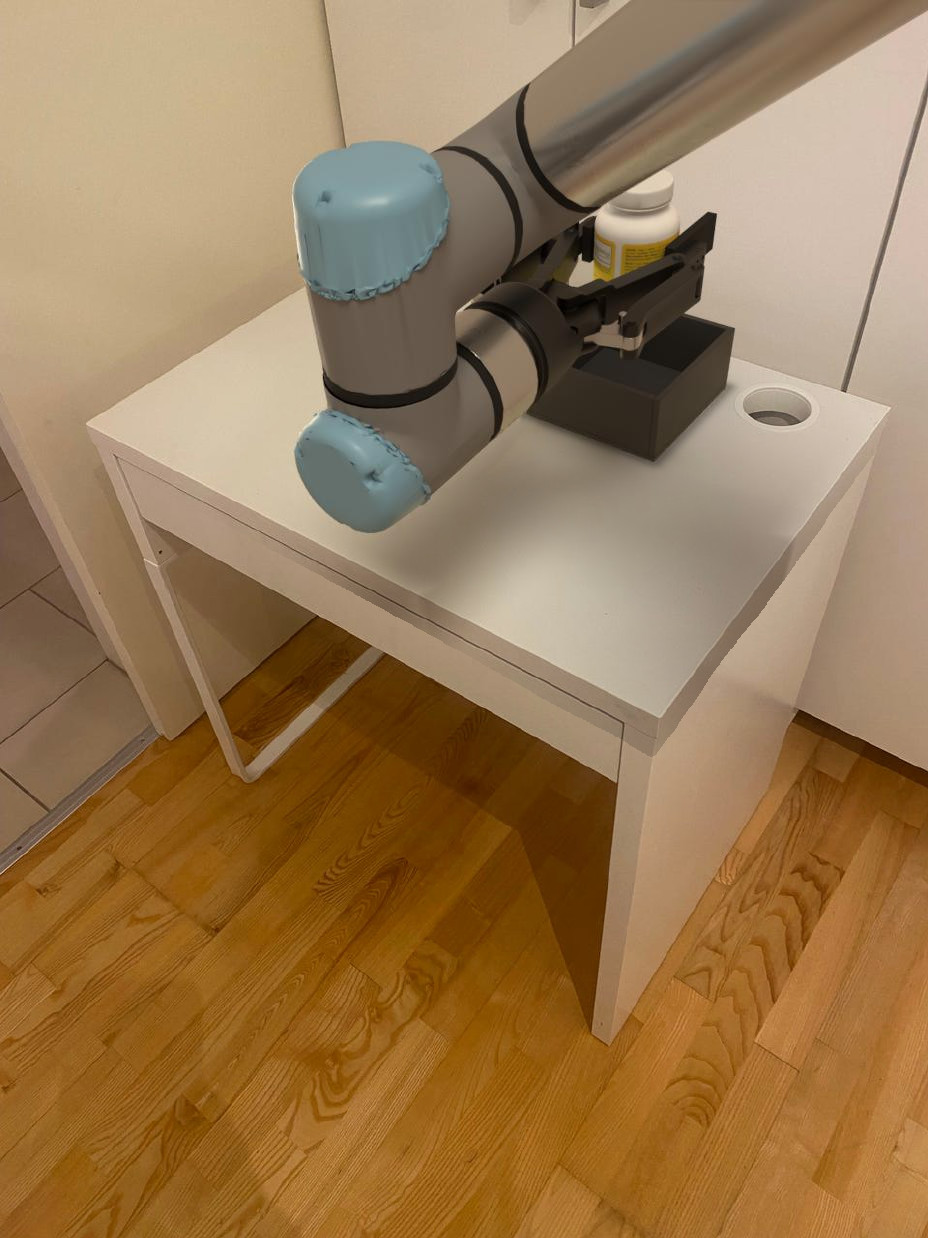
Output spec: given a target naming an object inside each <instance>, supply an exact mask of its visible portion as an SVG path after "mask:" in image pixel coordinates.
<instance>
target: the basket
mask: <svg viewBox="0 0 928 1238" xmlns="http://www.w3.org/2000/svg"><path fill="white" fill-rule="evenodd" d="M735 332H736V328H735V327H733V326H729V325H726V324H723V323H719V322H716V321H713V320H709V319H705V318H702V317H699V316H695V315H692V314H688V313H686V312H685V313H684V314H683V315H681V316H680V317H679V318H677V319H676V320H675V321H673V322H672V323H671V324H670V325H668V326H667V327H666V328H664V329H663V330H662V331H660V332H659V333H658V334H657V335H655V336H654V337H653V338H651V339H650V340H649V341H648V342H646V343H645V344H644V346H643V348H642V350H641V352H640V354H639V356H638V358H637V359H635V360H631V361H627V360H623V359H622V358H621V357H620V350H621V348H617V347H610V346H603V345H599V347H598V348H597V349H596V350H594V351H593V352H590V353H587V354H584V355H581V356H579V357H578V358H577V359H576V360H575V362H574V363H573V365H572V367H571V368H570V370H569V371H568V373H567V374H566V376H565V377H564V378H563V379H562V380H561V381H560V382H559V383H558V384H557V385H556V386H555V387H554V388H552V389H551V390H550V391H549V392H548V393H547V394H546V395H544V396H543V397H542V398H541V399H540V400H539V401H538V402H536V403H535V404H533V405H532V406H530V407H529V408H528V410H527V411H526V412H525V414H526V415H529V416H531V417H534V418H536V419H539V420H542V421H545V422H548V423H550V424H552V425H555V426H557V427H561V428H563V429H566V430H569V431H571V432H575V433H576V434H578V435H579V434H580V435H581V436H585V437H587V438H589V439H593V440H595V441H598V442H600V443H603V444H606V445H609V446H612V447H614V448H617V449H619V450H622V451H624V452H627V453H630V454H632V455H635V456H638V457H640V458H643V459H646V460H648V461H651V462H655V461H656V460H658V458H659V457H660V456H661V455H662V454H663V453H664V452H665V451H666V450H667V449H668V448H669V446H671V445H672V444H673V442H675V441H676V440H677V438H678V437H679V436H681V434H683V432H684V431H685V430H686V429H687V428H688V427H689V426H690V425H691V424H692V423H693V422H694V421H695V420H696V419H697V418H698V417H699V416H700V415H701V414H702V413H703V412H704V410H705V409H706V408H708V406H709V405H710V404H712V403H713V401H714V400H715V399H716V398H717V397H718V396H719V395H720V394H721V393H722V392H723V391H724V390H725V389H726V388H727V382H728V377H729V370H730V364H731V363H730V362H731V359H732V358H731V357H732V351H733V345H734V337H735Z"/></svg>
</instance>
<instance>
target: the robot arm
mask: <svg viewBox="0 0 928 1238" xmlns="http://www.w3.org/2000/svg"><path fill="white" fill-rule="evenodd" d="M927 12H928V0H628V1H627V2H626V3H625V4H623V6H621V7H620V8H619V9H618V10H616V11H615V12H614V13H613V14H611V15H610V16H609V17H608V18H606V19H605V20H604V21H603V22H602V23H601V24H599V25H598V26H596V28H594V29H593V30H592V31H590V32H589V33H588V34H587V35H586V36H584V38H582V39H581V40H579V41H578V42H577V43H576V44H575V45H573V46H572V47H571V48H569V49H568V50H567V51H566V52H565V53H563V54H562V55H561V56H560V57H559V58H557V59H556V60H555V61H553V63H551V64H550V65H549V66H547V68H545V69H544V70H543V71H541V72H540V73H539V74H538V75H536V76H535V77H534V78H533V79H532V80H531V81H529V82H527V84H525V85H523V86H522V87H521V88H519V89H518V90H517V91H515V93H513V94H512V95H510V96H509V97H508V98H507V99H506V100H505V101H503V102H502V103H501V104H500V105H499V106H497V107H496V108H494V109H493V110H492V111H491V112H490V113H488V114H487V115H486V116H485V117H484V118H482V119H480V120H479V121H478V122H476V123H475V124H474V125H472V126H471V127H470V128H468V129H466V130H465V131H463V132H461V134H459V135H458V136H456V137H455V138H453V139H452V140H450V141H448V142H447V143H446V144H444V145H443V146H441V147H439V148H437V149H435V150H433V151H431V152H430V153H429V152H428V151H426V150H425V149H424V148H422V147H421V148H420V147H419V146H416V145H414V144H409V143H405V142H401V141H393V140H370V141H369V140H368V141H360V142H354V143H351V144H350V145H349V146H348V147H344V148H338V149H337V148H335V149H333V148H332V149H330V150H327V151H324V152H322V153H321V154H320V153H319V154H318V155H317V156H315V157H313V158H312V159H311V160H309V161H308V162H307V163H306V164H304V165H303V166H302V168H301V169H300V171H299V172H298V174H297V175H296V177H295V180H294V182H293V185H292V190H291V200H292V209H293V218H294V224H293V226H294V233H295V240H296V247H297V254H296V260H297V264H298V269H299V273H300V275H301V277H302V279H303V282H304V287H305V291H306V296H307V300H308V305H309V311H310V313H311V319H312V324H313V328H314V333H315V338H316V343H317V347H318V353H319V358H320V362H321V369H322V374H321V375H322V383H323V384H322V385H323V390H324V394H325V400H326V407H325V410H322V411H318V413H317V412H316V413H314V415H313V417H312V419H311V421H310V422H308V424H306V425H305V426H304V427H302V429H301V430H300V431H299V433H298V436H297V440H296V445H295V447H294V451H293V455H294V456H293V457H294V463H295V467H296V470H297V474H298V475H299V478H300V480H301V482H302V484H303V486H304V487H305V489H306V491H307V492H308V494H309V495H310V497H311V498H312V499H313V501H314V502H315V503H316V504H317V505H318V506H319V508H321V509H322V511H324V513H326V515H328V516H329V517H330V518H332V519H333V520H334V521H336V522H338V523H339V524H341V525H345V526H347V527H348V528H350V529H352V530H353V531H356V532H360V533H365V534H377V533H381V532H384V531H386V530H388V529H390V528H391V527H393V526H394V525H396V524H397V523H398V522H400V521H401V520H402V519H404V518H405V517H407V516H408V515H409V514H410V513H412V512H413V511H415V510H416V509H417V508H419V507H420V506H424V505H426V504H427V503H428V502H429V501H430V500H431V498H432V496H433V495H434V494H435V493H436V492H437V491H438V490H439V489H440V488H441V487H443V486H444V485H445V484H447V482H448V481H449V480H451V479H452V478H453V477H454V476H455V475H456V474H457V473H458V472H460V470H462V469H463V468H464V467H465V466H466V465H468V463H470V461H471V460H472V459H474V458H475V457H476V456H477V455H478V454H479V453H480V452H482V450H484V449H485V448H486V447H487V446H488V445H489V444H490V443H491V442H492V441H494V440H495V439H497V437H498V436H500V435H501V434H502V433H503V432H504V431H506V429H507V428H509V427H510V426H511V425H512V424H513V423H515V422H516V421H517V420H518V419H519V418H520V417H521V416H522V415H523V414H526V411H527V410H528V408H529V407H530V406H532V405H533V404H535V403H536V402H538V401H539V400H540V399H541V398H542V397H543V396H544V395H546V394H547V393H548V392H549V391H550V390H551V389H552V388H554V387H555V386H556V385H557V384H558V383H559V382H560V381H561V380H562V379H563V378H564V377H565V376H566V374H567V373H568V371H569V370H570V368H571V367H572V365H573V363H574V362H575V360H576V359H577V358H578V357H579V356H581V355H584V354H587V353H590V352H593V351H594V350H596V349H597V348H598V347H599V345H603V346H610V347H617V348H621V350H620V357H621V358H622V359H623V360H627V361H631V360H635V359H637V358H638V356H639V354H640V352H641V350H642V348H643V346H644V344H645V343H646V342H648V341H649V340H650V339H651V338H653V337H654V336H655V335H657V334H658V333H659V332H660V331H662V330H663V329H664V328H666V327H667V326H668V325H670V324H671V323H672V322H673V321H675V320H676V319H677V318H679V317H680V316H681V315H683V314H684V313H685V314H686V312H688V311H689V310H690V309H692V308H693V307H694V306H696V305H697V304H698V303H700V301H701V300H702V293H703V285H704V276H705V268H706V267H705V260H706V255H708V254H709V253H710V252H711V251H712V250H713V249H714V242H715V234H716V226H717V219H718V213H716V212H713V211H707V212H705V213H704V214H703V215H702V216H701V217H699V218H698V219H697V220H696V221H695V222H693V223H692V224H691V225H690V226H688V227H687V228H686V229H685V230H684V231H683V232H681V233H679V236H678V237H677V238H675V239H674V240H673V241H672V242H671V243H669V244H668V245H667V246H666V247H665V256H664V257H663V258H661V259H658V260H656V261H654V262H651V263H649V264H647V265H644V266H642V267H640V268H637V269H635V270H633V271H630V272H628V273H626V274H623V275H621V276H619V277H616V278H614V279H612V280H610V281H605V280H603V279H601V278H599V279H596V280H594V281H593V280H592V281H589V282H587V283H585V284H582V285H579V286H572V285H570V284H568V282H569V280H570V279H571V277H572V274H573V272H574V271H575V268H576V267H577V265H578V263H579V256H580V255H581V262H584V263H588V264H591V263H592V262H594V236H595V235H594V232H595V220H596V217H597V215H598V214H596V215H592V214H594V213H596V212H598V211H600V210H601V209H602V208H603V207H604V206H605V205H607V204H608V202H610V201H611V200H613V199H615V198H616V197H618V196H620V195H621V194H623V193H625V192H626V191H628V190H630V189H631V188H633V187H635V186H636V185H638V184H640V183H641V182H643V181H645V180H646V179H648V178H650V177H651V176H653V175H655V174H656V173H658V172H660V171H661V170H663V169H664V170H666V168H668V167H670V166H671V165H673V164H675V163H677V162H679V161H681V160H682V159H684V158H685V157H686V156H689V155H690V154H691V153H693V152H695V151H697V150H698V149H700V148H702V147H703V146H705V145H706V144H708V143H710V142H711V141H713V140H715V139H716V138H718V137H720V136H721V135H723V134H725V133H726V132H728V131H730V130H731V129H733V128H734V127H736V126H738V125H740V124H741V123H743V122H745V121H747V120H748V119H750V118H752V117H753V116H754V115H757V114H758V113H761V112H762V111H763V110H765V109H766V108H768V107H770V106H771V105H773V104H775V103H777V102H778V101H780V100H782V99H783V98H785V97H786V96H789V95H790V94H791V93H793V92H795V91H796V90H798V89H800V88H801V87H803V86H805V85H806V84H808V83H810V82H812V81H813V80H815V79H816V78H818V77H820V76H822V75H823V74H825V73H827V72H828V71H830V70H832V69H833V68H835V67H837V66H839V65H840V64H841V63H843V62H845V61H846V60H848V59H850V58H852V57H853V56H855V55H856V54H858V53H860V52H861V51H863V50H865V49H867V48H868V47H870V46H872V45H873V44H874V43H876V42H878V41H880V40H881V39H883V38H884V37H887V36H888V35H889V34H891V33H893V32H895V31H897V30H898V29H899V28H901V27H903V26H905V25H906V24H908V23H909V22H911V21H913V20H914V19H917V18H918V17H920V16H921V15H924V14H925V13H927ZM468 303H470V304H469V305H467V304H468ZM466 305H467V306H466ZM465 306H466V307H465ZM463 307H464V309H463V310H461V309H462V308H463ZM459 310H461V311H459ZM458 311H459V312H458Z"/></svg>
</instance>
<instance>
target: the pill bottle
mask: <svg viewBox="0 0 928 1238" xmlns="http://www.w3.org/2000/svg"><path fill="white" fill-rule="evenodd" d="M674 185H675V178H674V176H673V174H672V173H671V172H669V171H668V170H666V169H663V170H661V171H660V172H658V173H656V174H655V175H653V176H651V177H650V178H648V179H646V180H645V181H643V182H641V183H640V184H638V185H636V186H635V187H633V188H631V189H630V190H628V191H626V192H625V193H623V194H621V195H620V196H618V197H616V198H615V199H613V200H611V201H610V202H608V203H607V204H605V205H603V206H602V207H601V208H600V209H599V210H598V213H597V214H596V215H597V217H596V220H595V232H594V235H595V236H594V260H593V271H592V272H593V273H592V281H594V280H596V279H599V278H601V279H603V280H605V281H610V280H612V279H614V278H616V277H619V276H621V275H623V274H626V273H628V272H630V271H633V270H635V269H637V268H640V267H642V266H644V265H647V264H649V263H651V262H654V261H656V260H658V259H661V258H663V257H664V256H665V247H666V246H667V245H668V244H669V243H671V242H672V241H673V240H674V239H675V238H677V237H678V236H679V235H680V234H681V233H680V232H681V217H680V214H679V211H678V210H677V209H676V207H675V206H674V205H673V204H671V202H672V200H673V197H674Z"/></svg>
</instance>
